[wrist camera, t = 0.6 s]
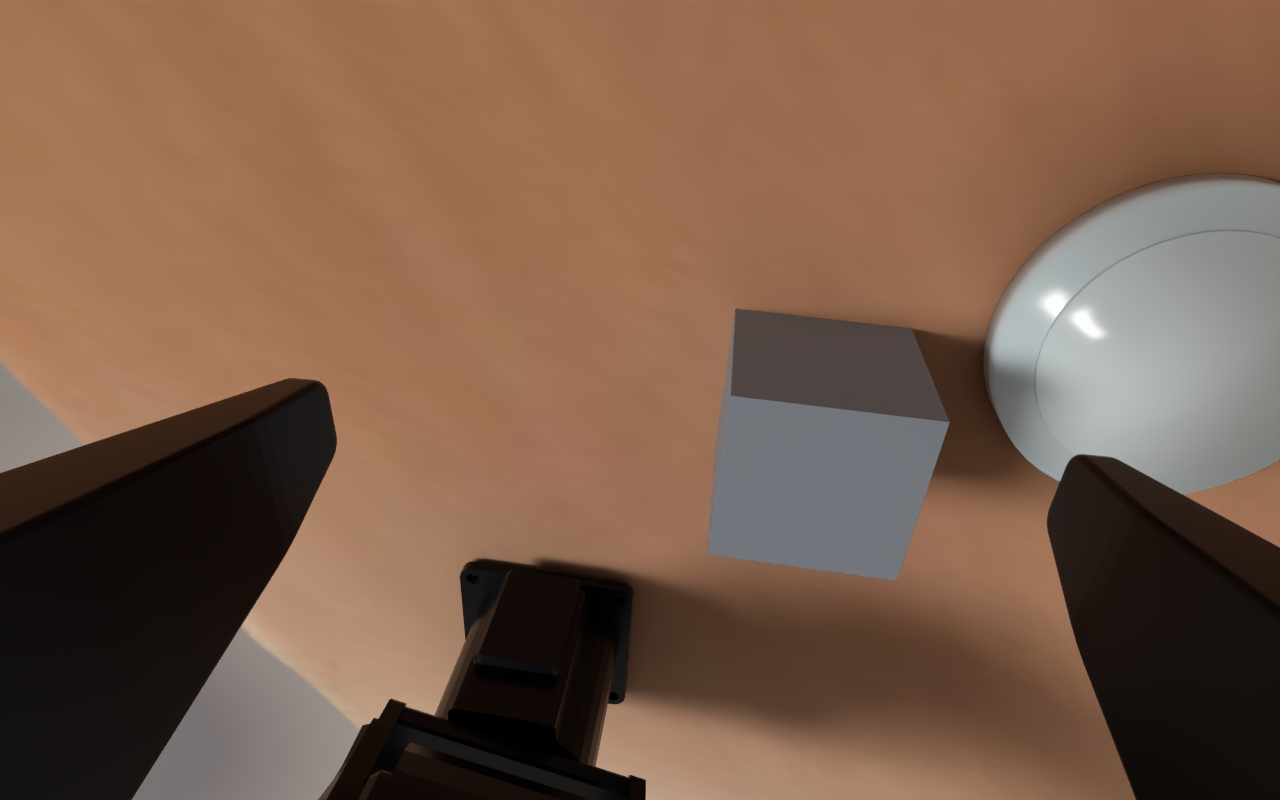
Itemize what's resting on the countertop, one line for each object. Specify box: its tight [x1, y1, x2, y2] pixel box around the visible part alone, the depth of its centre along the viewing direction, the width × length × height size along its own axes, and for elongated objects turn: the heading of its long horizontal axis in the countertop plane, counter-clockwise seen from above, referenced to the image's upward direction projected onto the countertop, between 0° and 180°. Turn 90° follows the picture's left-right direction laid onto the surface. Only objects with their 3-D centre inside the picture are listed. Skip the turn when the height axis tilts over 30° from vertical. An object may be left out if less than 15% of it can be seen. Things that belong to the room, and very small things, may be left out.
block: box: [707, 309, 950, 581], centre depth 21 cm, size 5×5×5 cm
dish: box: [983, 173, 1280, 495], centre depth 20 cm, size 9×9×1 cm
